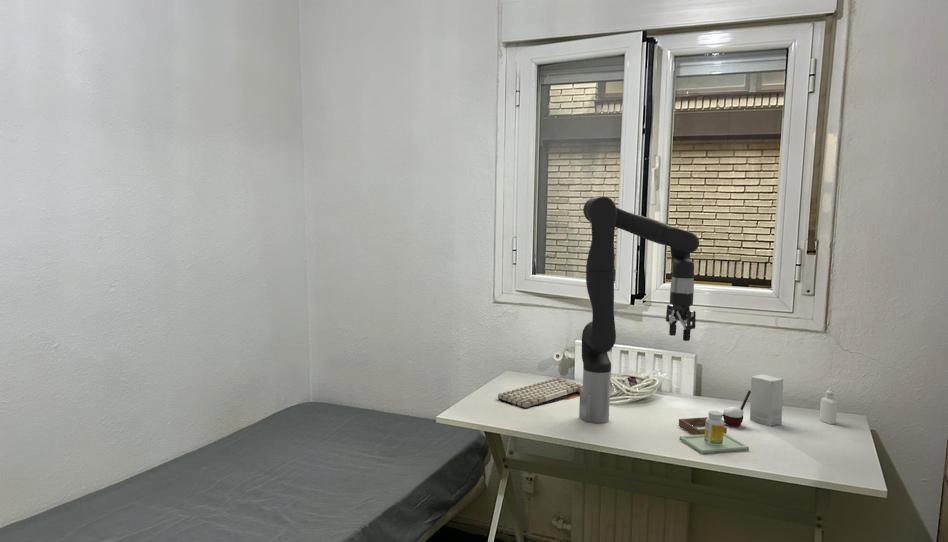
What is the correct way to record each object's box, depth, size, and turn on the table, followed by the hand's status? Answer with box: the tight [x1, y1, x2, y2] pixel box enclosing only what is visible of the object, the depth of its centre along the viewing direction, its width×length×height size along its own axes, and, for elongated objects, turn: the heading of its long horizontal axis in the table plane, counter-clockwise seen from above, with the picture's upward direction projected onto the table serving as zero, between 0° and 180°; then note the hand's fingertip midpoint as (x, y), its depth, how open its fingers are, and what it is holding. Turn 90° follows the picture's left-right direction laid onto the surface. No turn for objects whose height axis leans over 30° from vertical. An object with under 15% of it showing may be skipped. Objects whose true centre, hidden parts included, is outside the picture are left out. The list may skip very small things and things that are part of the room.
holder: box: [678, 416, 728, 435], centre depth 209 cm, size 11×11×2 cm
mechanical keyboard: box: [497, 377, 583, 409], centre depth 245 cm, size 38×19×3 cm, turn 135°
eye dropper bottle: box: [819, 387, 838, 425], centre depth 221 cm, size 4×6×12 cm
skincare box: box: [749, 373, 784, 427], centre depth 219 cm, size 8×7×16 cm
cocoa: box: [722, 389, 751, 427], centre depth 215 cm, size 10×6×12 cm, turn 59°
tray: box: [678, 432, 750, 455], centre depth 197 cm, size 16×12×1 cm
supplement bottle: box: [704, 410, 725, 446], centre depth 196 cm, size 5×5×10 cm
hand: (679, 338), depth 219 cm, fingers open, 8 cm apart
